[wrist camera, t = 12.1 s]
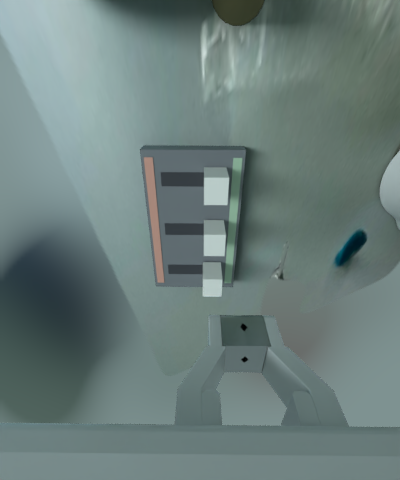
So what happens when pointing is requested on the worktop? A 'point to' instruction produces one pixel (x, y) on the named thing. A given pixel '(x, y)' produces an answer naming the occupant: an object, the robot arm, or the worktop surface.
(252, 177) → the worktop surface
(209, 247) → the switch
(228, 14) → the cork
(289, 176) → the worktop surface
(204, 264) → the switch
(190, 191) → the switch board
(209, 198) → the switch
